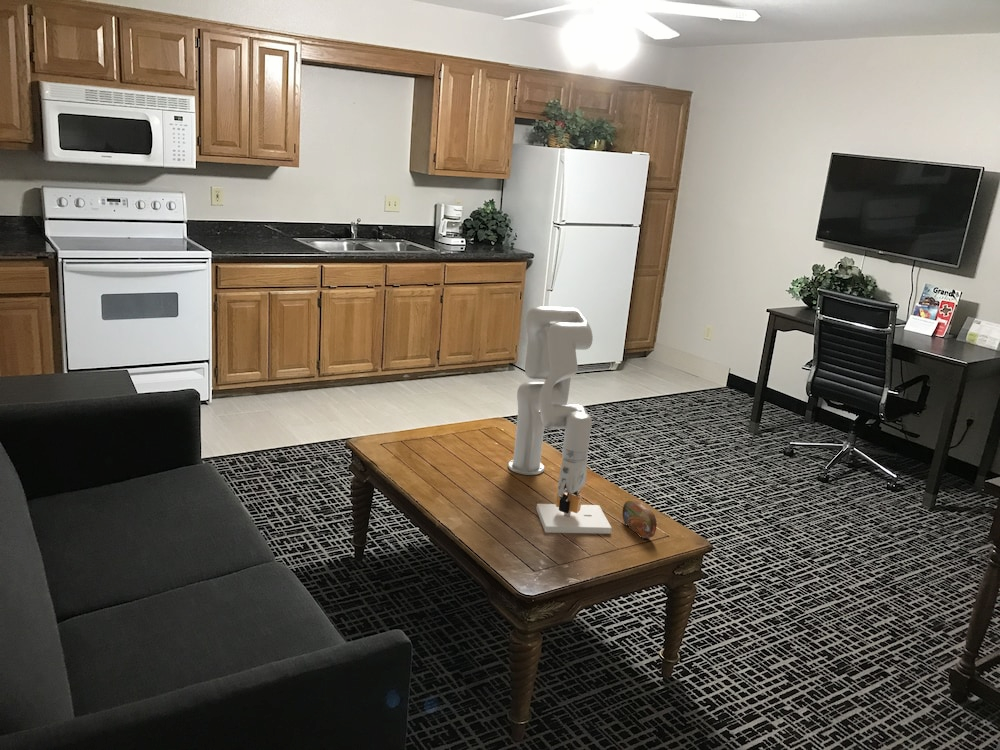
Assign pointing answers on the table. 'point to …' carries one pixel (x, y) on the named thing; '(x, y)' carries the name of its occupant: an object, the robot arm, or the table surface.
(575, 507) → the orange block on post
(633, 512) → the tin
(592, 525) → the base plate
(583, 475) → the robot arm
